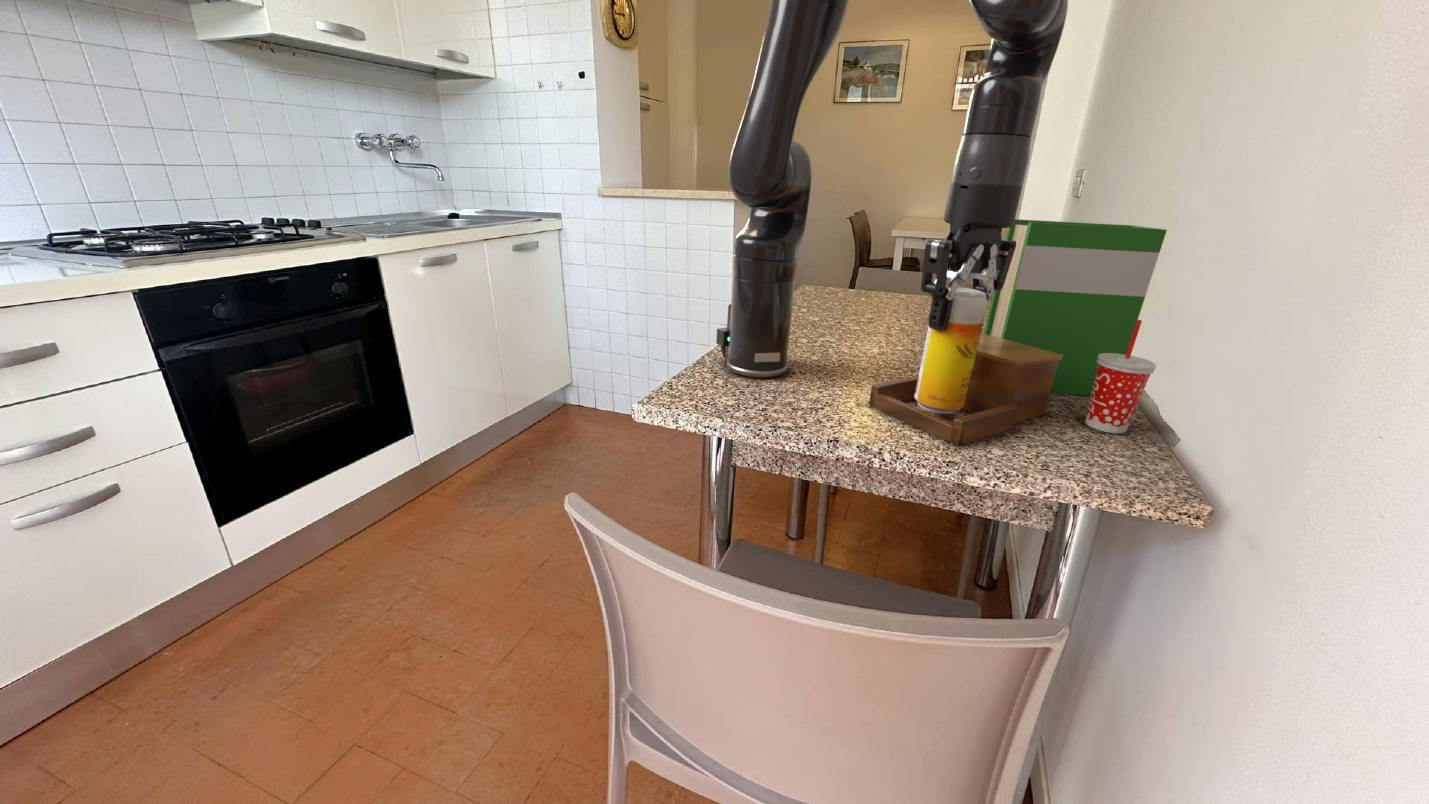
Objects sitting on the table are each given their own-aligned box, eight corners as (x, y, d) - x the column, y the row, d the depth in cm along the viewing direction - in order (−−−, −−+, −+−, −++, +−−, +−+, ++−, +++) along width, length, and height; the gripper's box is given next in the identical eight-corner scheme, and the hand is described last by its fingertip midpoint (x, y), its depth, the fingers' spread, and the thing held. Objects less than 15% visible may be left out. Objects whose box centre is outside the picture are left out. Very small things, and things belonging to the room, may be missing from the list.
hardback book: (991, 388, 86) (1031, 222, 77) (974, 373, 93) (1009, 218, 84) (1112, 396, 85) (1167, 229, 76) (1086, 380, 92) (1133, 225, 83)
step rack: (868, 405, 77) (877, 345, 74) (962, 384, 87) (974, 330, 84) (957, 446, 66) (972, 377, 63) (1052, 416, 77) (1069, 356, 73)
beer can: (966, 418, 71) (995, 298, 65) (916, 411, 72) (940, 293, 66) (957, 400, 77) (983, 289, 71) (910, 395, 78) (932, 284, 72)
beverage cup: (1075, 413, 78) (1106, 312, 73) (1128, 422, 76) (1164, 319, 71) (1080, 429, 73) (1114, 321, 68) (1137, 439, 70) (1176, 329, 65)
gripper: (994, 182, 71) (964, 315, 77) (916, 177, 63) (891, 324, 70) (1054, 185, 65) (1017, 329, 71) (976, 179, 57) (942, 340, 64)
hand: (954, 326), depth 70 cm, fingers closed on beer can, 6 cm apart
